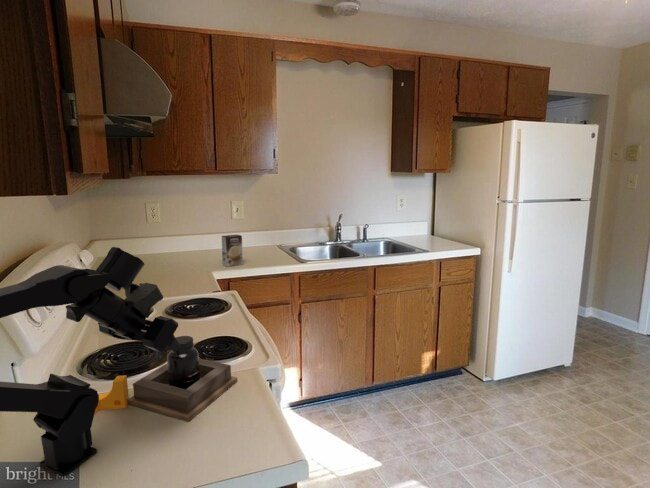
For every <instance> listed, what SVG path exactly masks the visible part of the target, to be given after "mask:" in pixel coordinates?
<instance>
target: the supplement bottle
mask: <svg viewBox="0 0 650 488" xmlns="http://www.w3.org/2000/svg"><path fill="white" fill-rule="evenodd" d="M175 338H176V339H177V341H178V343H179V344H180V348H179V350H178V351H169V352H168V354H167V355H166V364H167V367H168V381H169V385H170V386H174V387H178V388H182V389H187V388H189V387H190V386H191V385H193V384H194V383H195V382H197V381H198V380H200V370H199V359H200V356H199V351H198V349H197V348H196V347H195V343H194V338H193V337H192V336H190V335H180V336H177V337H175Z"/></svg>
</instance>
